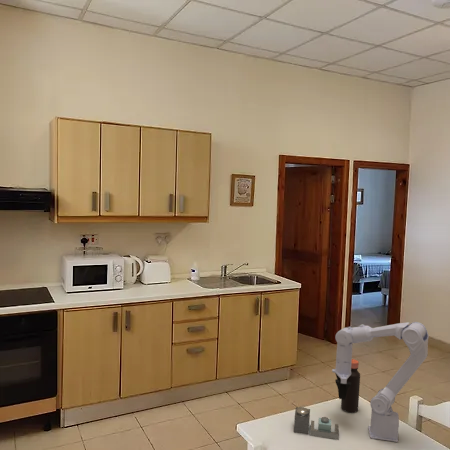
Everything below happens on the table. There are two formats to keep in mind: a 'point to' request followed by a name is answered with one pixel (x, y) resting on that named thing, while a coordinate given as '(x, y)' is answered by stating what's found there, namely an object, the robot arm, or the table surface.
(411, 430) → the table surface
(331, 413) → the table surface
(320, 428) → the pale blue block
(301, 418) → the motor mount
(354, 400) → the bottle
